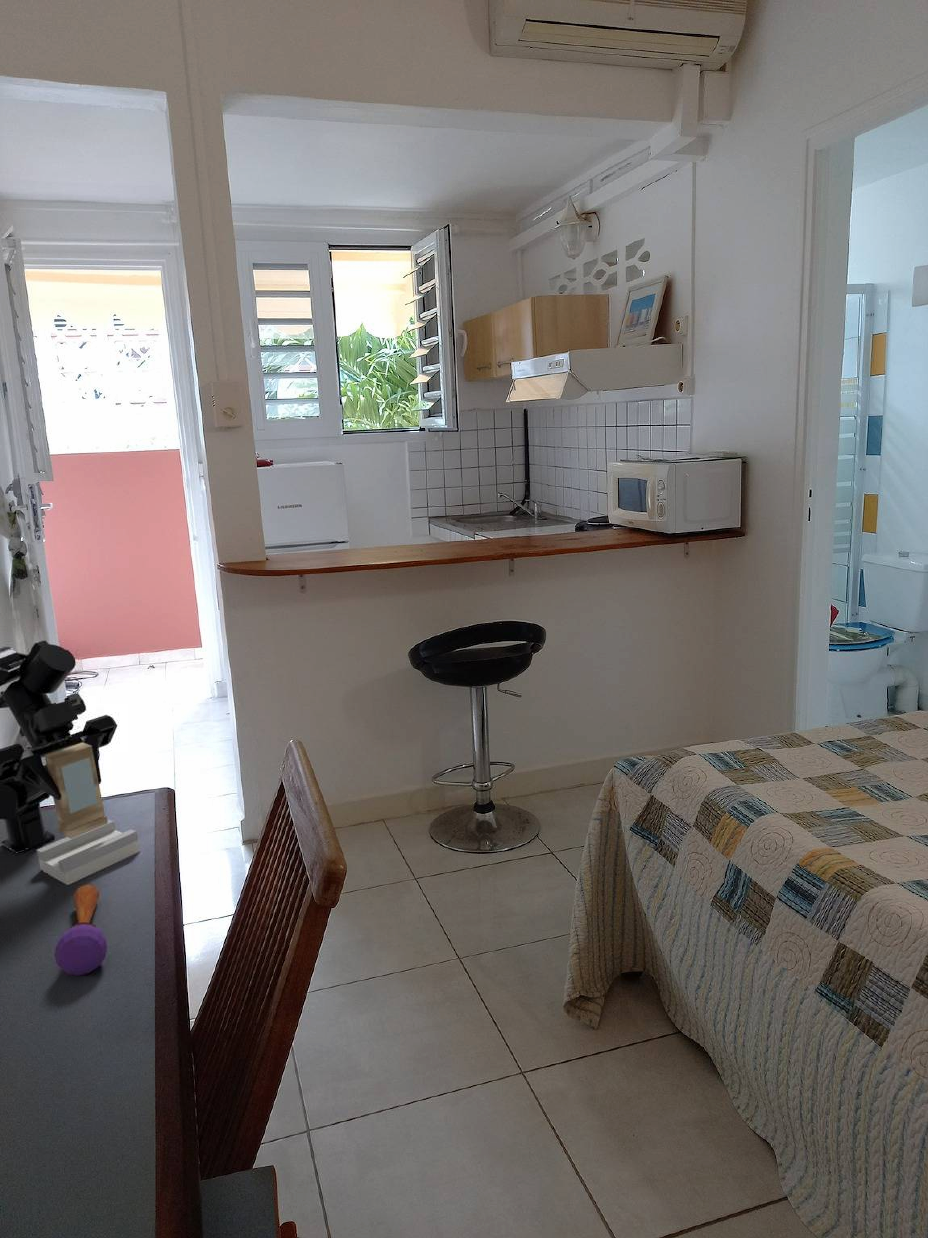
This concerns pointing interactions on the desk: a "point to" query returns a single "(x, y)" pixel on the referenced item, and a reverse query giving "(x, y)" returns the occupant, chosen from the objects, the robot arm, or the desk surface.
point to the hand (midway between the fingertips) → (80, 790)
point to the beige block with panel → (76, 790)
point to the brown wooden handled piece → (82, 937)
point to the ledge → (91, 866)
